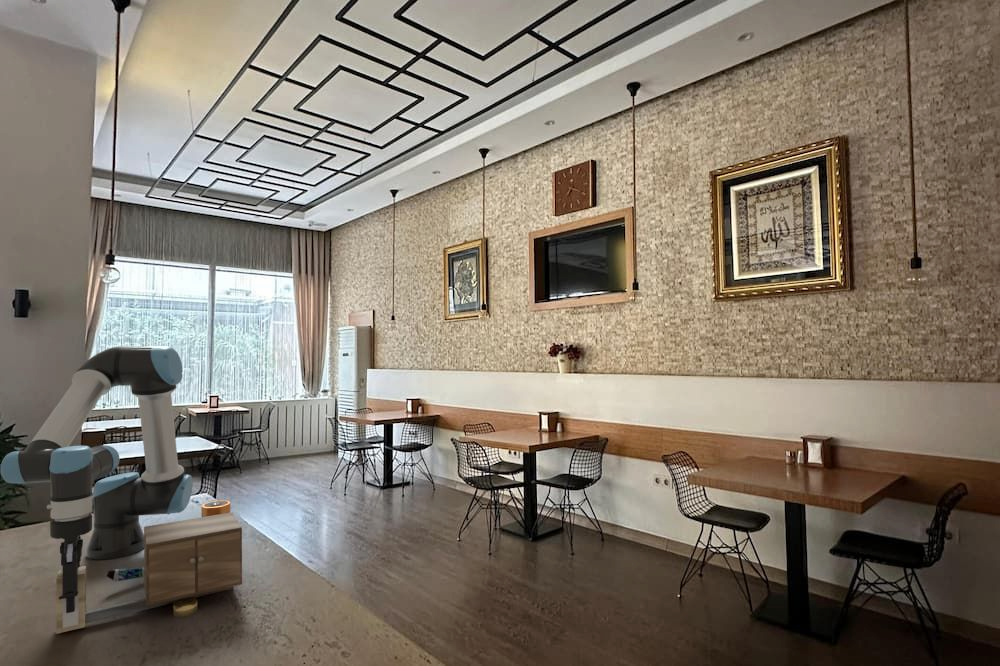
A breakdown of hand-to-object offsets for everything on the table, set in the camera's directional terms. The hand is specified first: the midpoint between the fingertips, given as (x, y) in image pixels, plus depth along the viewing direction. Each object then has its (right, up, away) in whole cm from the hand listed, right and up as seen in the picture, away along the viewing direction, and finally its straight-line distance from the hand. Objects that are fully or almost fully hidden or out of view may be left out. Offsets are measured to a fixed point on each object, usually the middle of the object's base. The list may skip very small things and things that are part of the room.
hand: (71, 619), depth 125 cm
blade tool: (+7, -1, +4) cm, 8 cm away
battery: (+18, -3, +29) cm, 34 cm away
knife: (+5, -3, +30) cm, 30 cm away
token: (+21, -2, +8) cm, 23 cm away
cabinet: (+20, -2, +13) cm, 24 cm away
